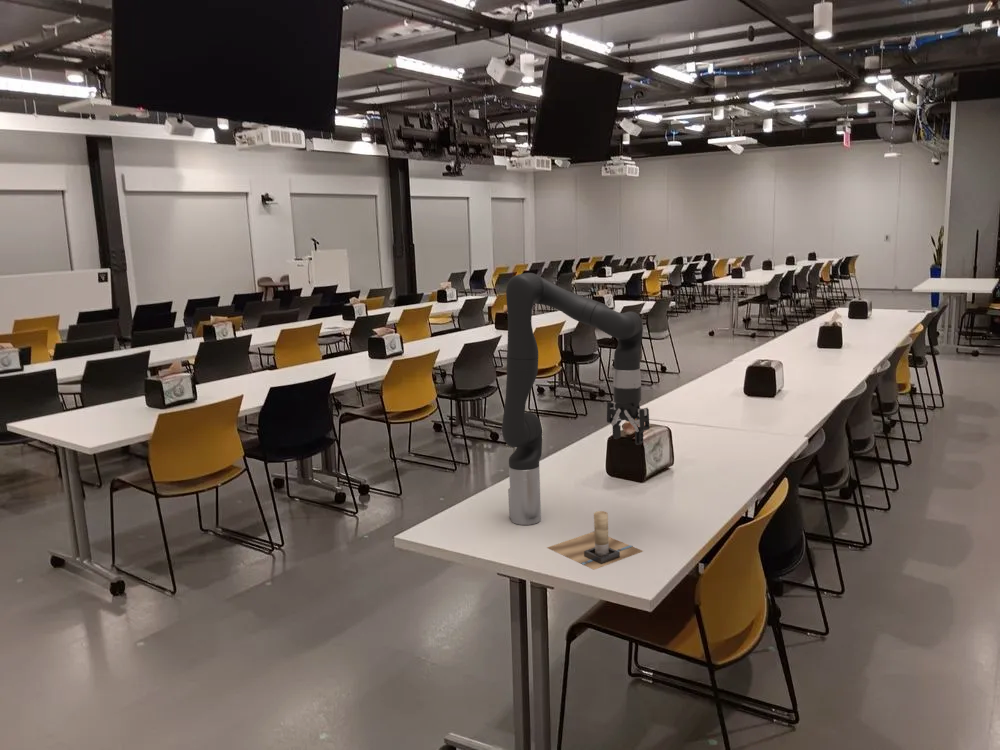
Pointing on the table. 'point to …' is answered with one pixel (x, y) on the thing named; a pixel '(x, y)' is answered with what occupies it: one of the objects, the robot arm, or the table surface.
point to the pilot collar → (611, 556)
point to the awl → (601, 533)
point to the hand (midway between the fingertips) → (627, 441)
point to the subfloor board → (585, 542)
